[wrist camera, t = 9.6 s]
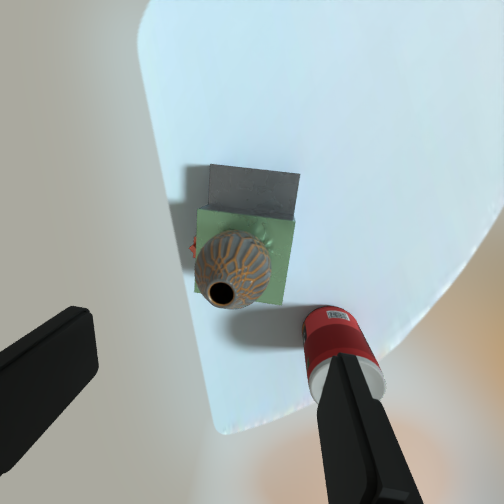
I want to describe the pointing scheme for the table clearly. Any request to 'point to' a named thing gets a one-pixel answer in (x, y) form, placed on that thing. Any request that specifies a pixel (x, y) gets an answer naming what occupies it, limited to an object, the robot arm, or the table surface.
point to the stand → (252, 216)
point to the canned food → (337, 349)
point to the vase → (233, 269)
